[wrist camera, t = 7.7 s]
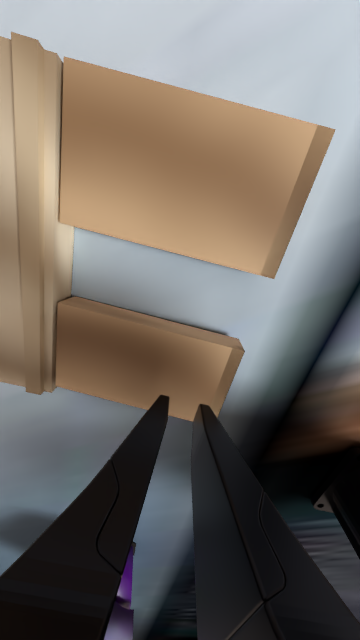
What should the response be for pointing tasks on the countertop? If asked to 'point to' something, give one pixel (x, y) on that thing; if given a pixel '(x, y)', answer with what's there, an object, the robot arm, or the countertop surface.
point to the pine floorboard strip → (31, 214)
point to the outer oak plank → (183, 168)
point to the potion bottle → (123, 606)
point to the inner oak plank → (142, 358)
